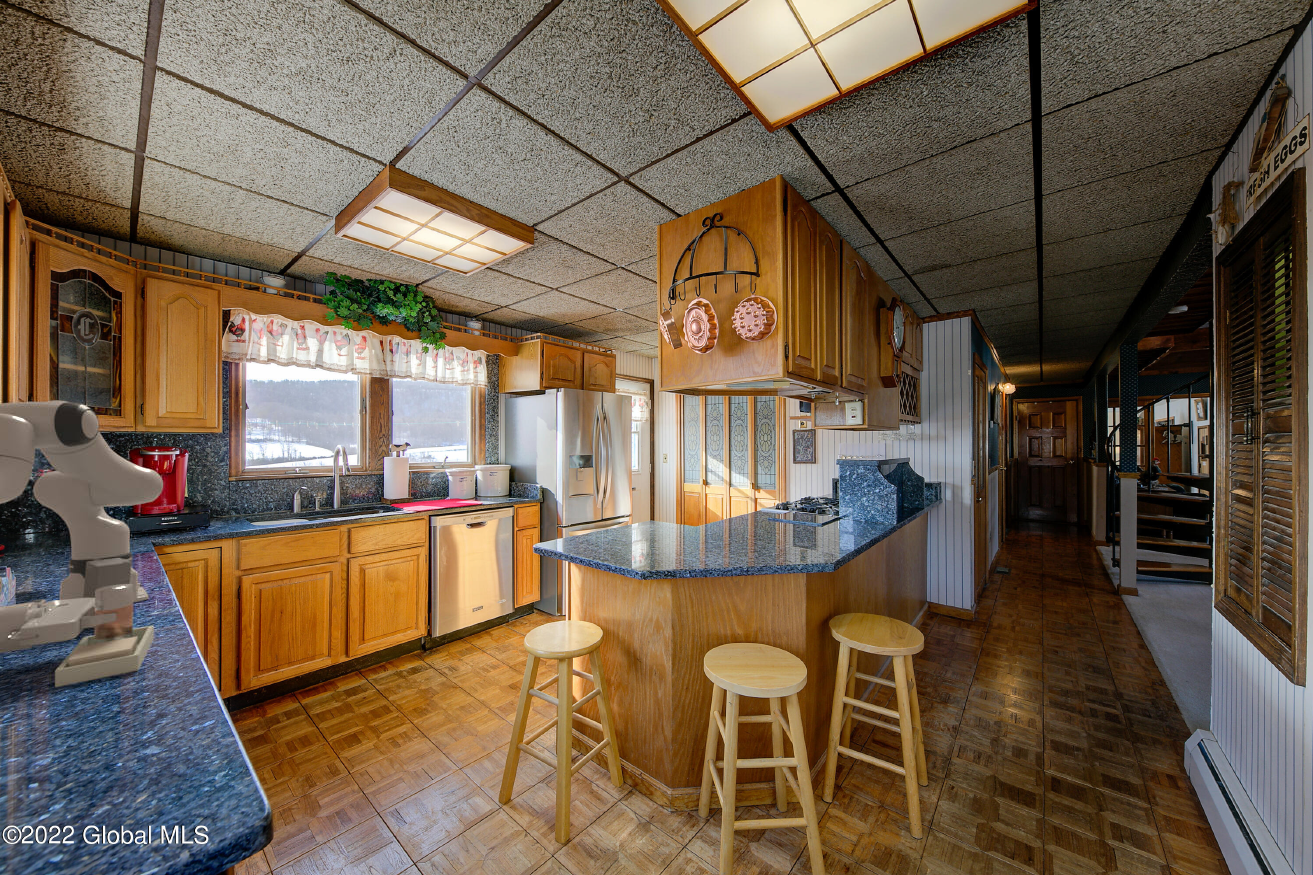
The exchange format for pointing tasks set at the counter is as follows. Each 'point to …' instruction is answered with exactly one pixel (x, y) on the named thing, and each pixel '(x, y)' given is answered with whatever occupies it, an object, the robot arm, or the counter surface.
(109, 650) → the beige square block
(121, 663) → the tote
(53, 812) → the counter surface
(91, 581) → the skincare box
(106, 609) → the steel can
